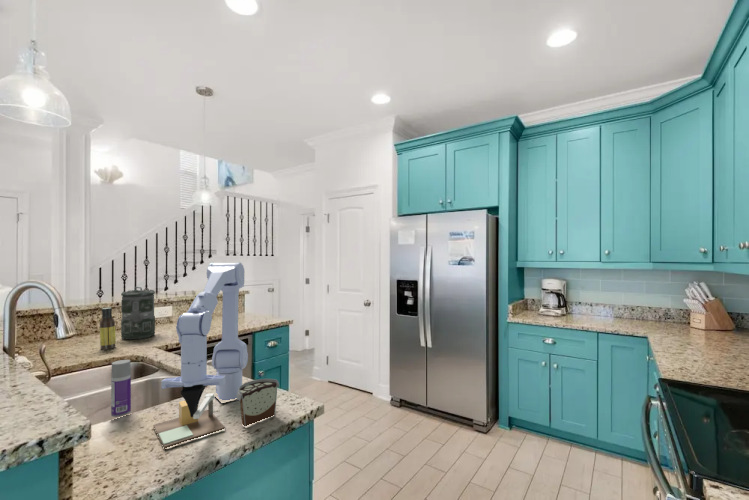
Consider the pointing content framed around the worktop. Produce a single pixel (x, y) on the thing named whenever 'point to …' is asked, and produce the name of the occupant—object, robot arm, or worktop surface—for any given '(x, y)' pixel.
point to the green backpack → (137, 314)
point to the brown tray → (192, 426)
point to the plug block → (185, 414)
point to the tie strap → (203, 405)
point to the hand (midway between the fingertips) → (193, 415)
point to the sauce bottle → (107, 329)
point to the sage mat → (175, 434)
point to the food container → (257, 400)
